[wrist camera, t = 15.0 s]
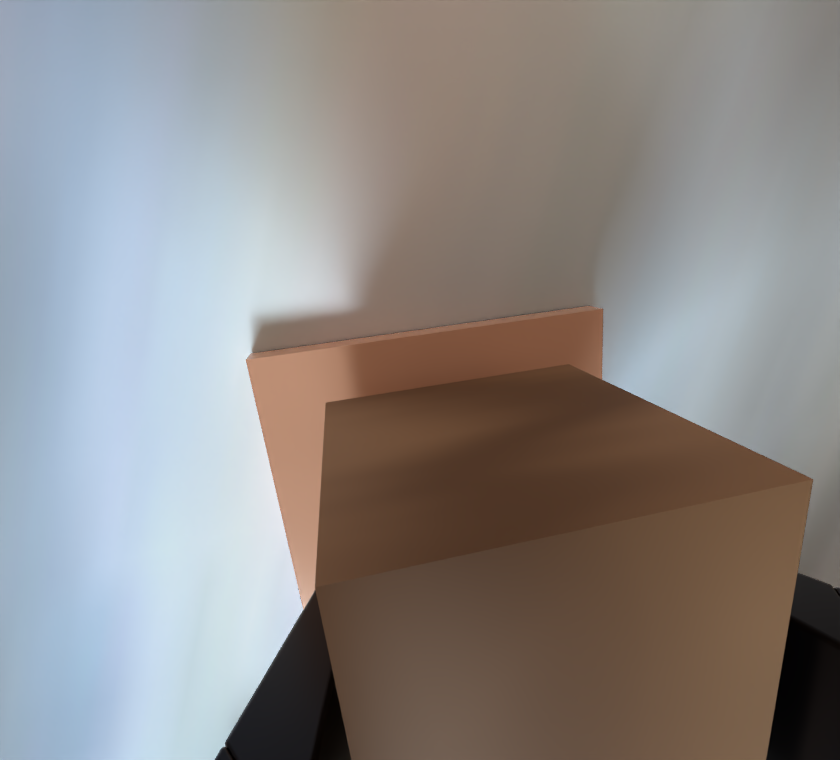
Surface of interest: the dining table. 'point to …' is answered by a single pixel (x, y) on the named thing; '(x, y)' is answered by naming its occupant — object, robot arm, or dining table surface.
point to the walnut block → (551, 574)
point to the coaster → (388, 372)
